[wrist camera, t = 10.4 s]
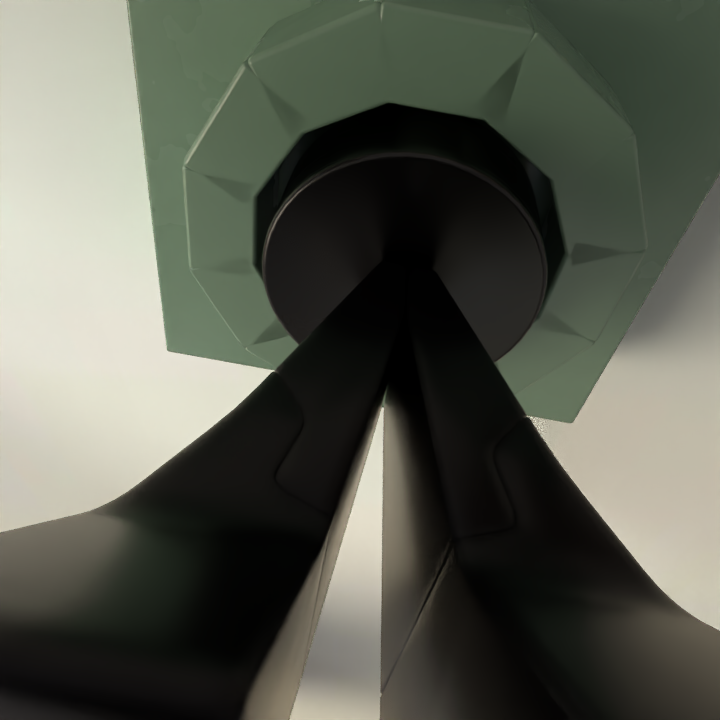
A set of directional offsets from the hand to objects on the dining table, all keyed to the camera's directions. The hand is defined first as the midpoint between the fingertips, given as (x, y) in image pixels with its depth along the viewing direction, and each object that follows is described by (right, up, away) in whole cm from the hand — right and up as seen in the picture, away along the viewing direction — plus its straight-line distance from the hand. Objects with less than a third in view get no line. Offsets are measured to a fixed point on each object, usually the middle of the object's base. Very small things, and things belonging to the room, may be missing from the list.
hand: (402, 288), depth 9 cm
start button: (0, +1, +1) cm, 2 cm away
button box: (+1, +4, +4) cm, 5 cm away
